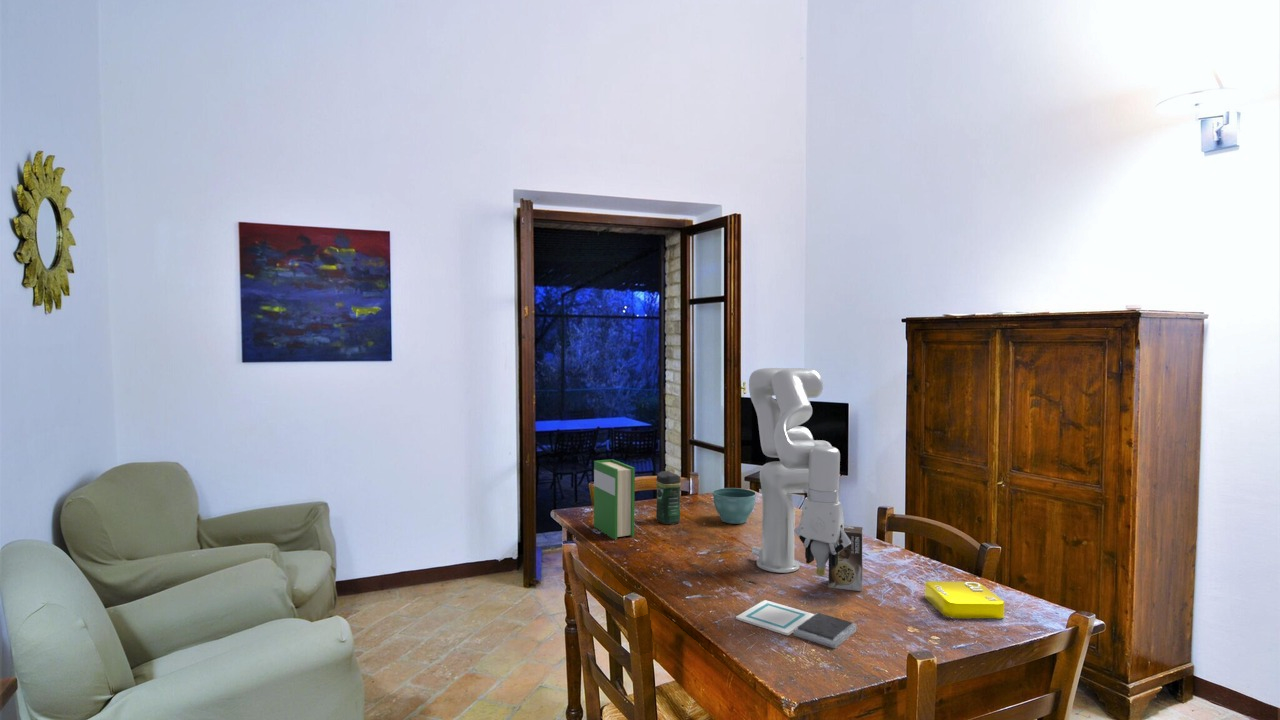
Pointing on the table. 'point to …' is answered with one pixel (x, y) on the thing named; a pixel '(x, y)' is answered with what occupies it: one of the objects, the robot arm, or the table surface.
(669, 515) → the coffee jar
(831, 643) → the ink pad
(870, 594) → the table surface
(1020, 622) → the table surface
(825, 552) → the light bulb
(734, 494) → the flower pot
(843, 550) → the coffee box
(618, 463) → the hardback book
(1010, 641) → the table surface
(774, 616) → the marked board
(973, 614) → the element tile
